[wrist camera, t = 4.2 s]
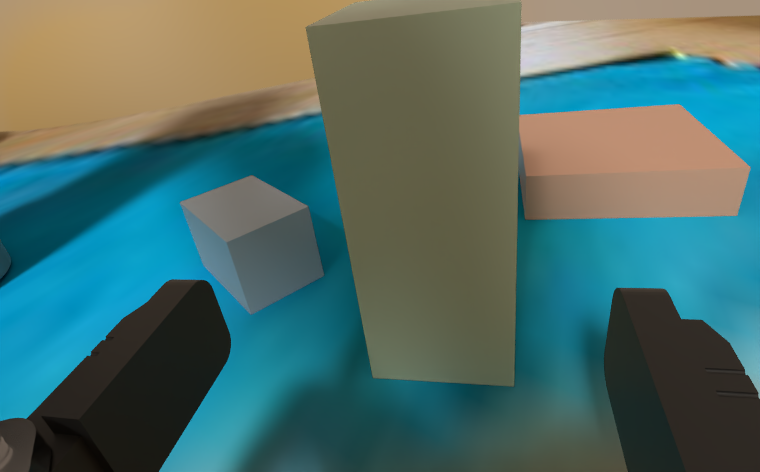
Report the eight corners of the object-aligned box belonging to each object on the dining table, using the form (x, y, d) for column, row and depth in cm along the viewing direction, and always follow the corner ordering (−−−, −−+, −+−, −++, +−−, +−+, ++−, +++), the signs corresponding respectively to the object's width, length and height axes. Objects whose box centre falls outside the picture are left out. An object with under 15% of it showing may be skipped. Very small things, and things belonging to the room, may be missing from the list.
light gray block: (204, 267, 26) (179, 202, 24) (269, 238, 28) (251, 175, 26) (251, 317, 22) (226, 242, 20) (324, 277, 24) (308, 206, 22)
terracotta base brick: (525, 226, 26) (526, 176, 25) (516, 156, 35) (516, 115, 33) (735, 223, 24) (750, 167, 22) (671, 148, 32) (679, 104, 31)
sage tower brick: (372, 377, 18) (305, 26, 12) (395, 293, 22) (354, 2, 16) (514, 386, 17) (521, 1, 10) (509, 295, 21) (512, -18, 15)
